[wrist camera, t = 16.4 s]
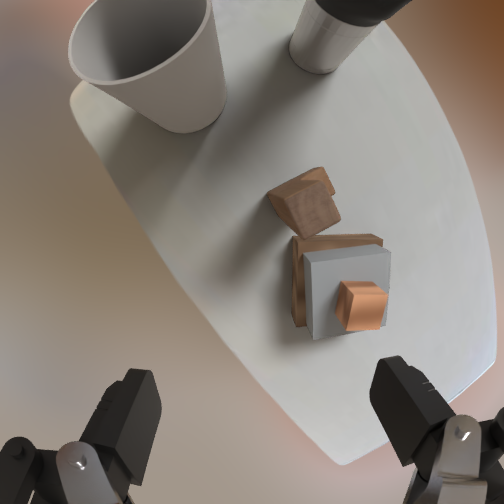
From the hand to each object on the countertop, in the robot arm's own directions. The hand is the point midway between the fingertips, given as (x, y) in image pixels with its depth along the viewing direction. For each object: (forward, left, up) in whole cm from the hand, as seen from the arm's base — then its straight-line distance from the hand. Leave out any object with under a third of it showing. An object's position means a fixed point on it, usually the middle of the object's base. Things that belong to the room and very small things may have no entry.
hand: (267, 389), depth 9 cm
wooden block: (-5, +8, -36) cm, 37 cm away
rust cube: (+9, +15, -26) cm, 32 cm away
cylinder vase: (-21, -9, -36) cm, 43 cm away
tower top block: (+9, +14, -32) cm, 36 cm away
